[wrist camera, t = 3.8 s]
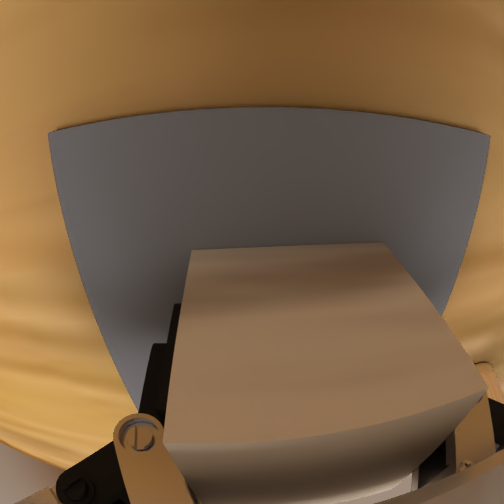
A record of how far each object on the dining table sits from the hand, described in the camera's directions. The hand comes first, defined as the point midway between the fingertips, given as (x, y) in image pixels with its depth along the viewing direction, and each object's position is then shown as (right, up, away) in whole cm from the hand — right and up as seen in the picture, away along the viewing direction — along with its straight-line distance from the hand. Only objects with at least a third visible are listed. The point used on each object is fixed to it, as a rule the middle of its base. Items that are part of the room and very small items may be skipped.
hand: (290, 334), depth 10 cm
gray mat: (0, +1, +1) cm, 1 cm away
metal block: (0, 0, +1) cm, 1 cm away
